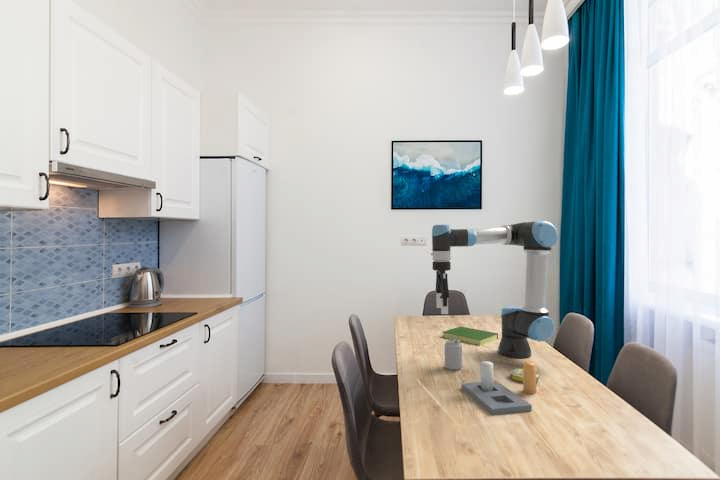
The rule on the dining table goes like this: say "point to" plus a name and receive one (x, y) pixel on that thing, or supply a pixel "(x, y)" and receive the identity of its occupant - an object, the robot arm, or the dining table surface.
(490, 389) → the white rounded peg
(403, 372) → the dining table surface
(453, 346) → the can
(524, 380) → the tan tapered peg
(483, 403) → the housing
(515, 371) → the decorated donut
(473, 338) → the hardcover book
